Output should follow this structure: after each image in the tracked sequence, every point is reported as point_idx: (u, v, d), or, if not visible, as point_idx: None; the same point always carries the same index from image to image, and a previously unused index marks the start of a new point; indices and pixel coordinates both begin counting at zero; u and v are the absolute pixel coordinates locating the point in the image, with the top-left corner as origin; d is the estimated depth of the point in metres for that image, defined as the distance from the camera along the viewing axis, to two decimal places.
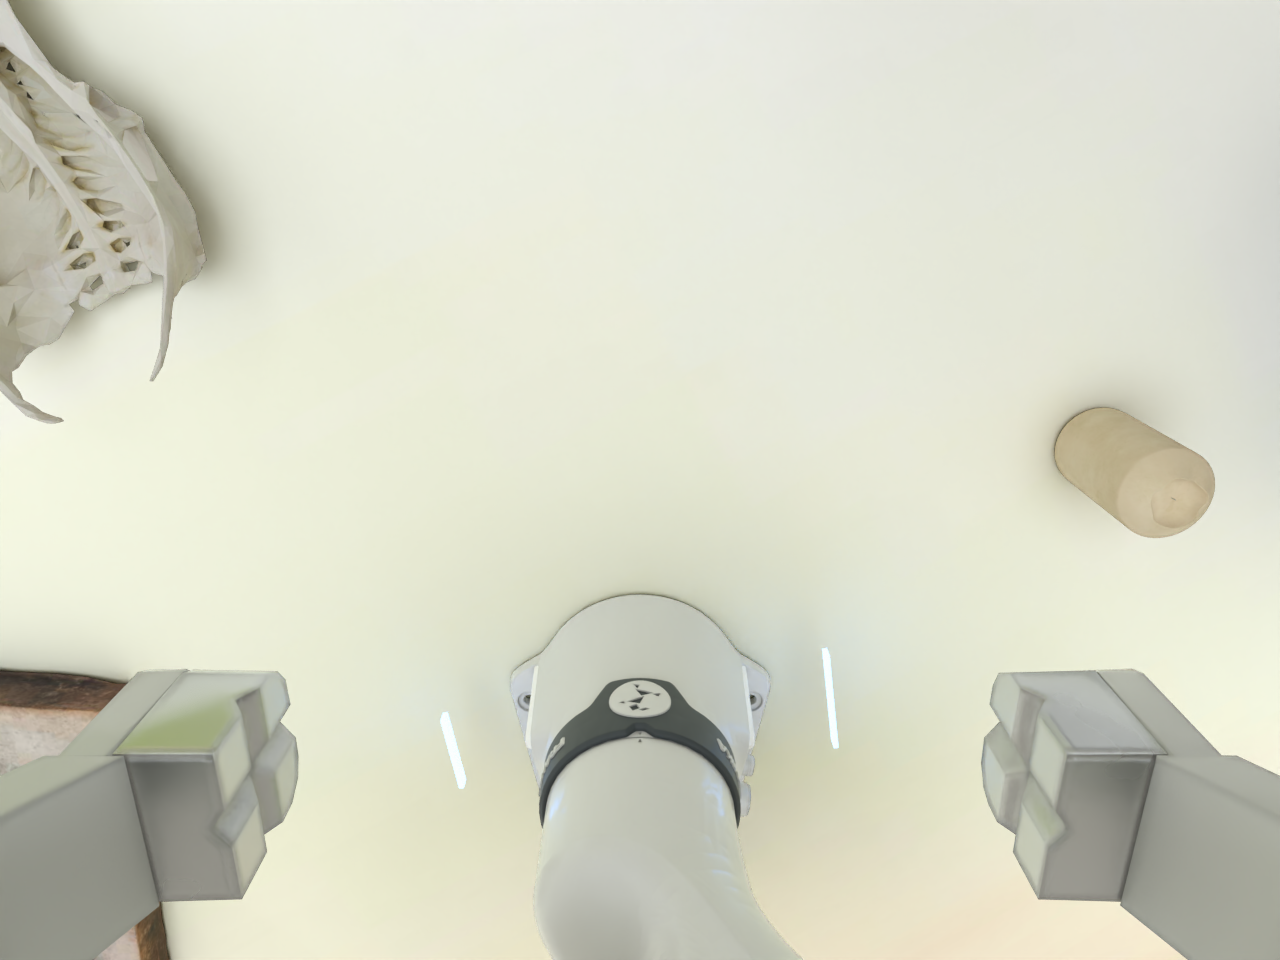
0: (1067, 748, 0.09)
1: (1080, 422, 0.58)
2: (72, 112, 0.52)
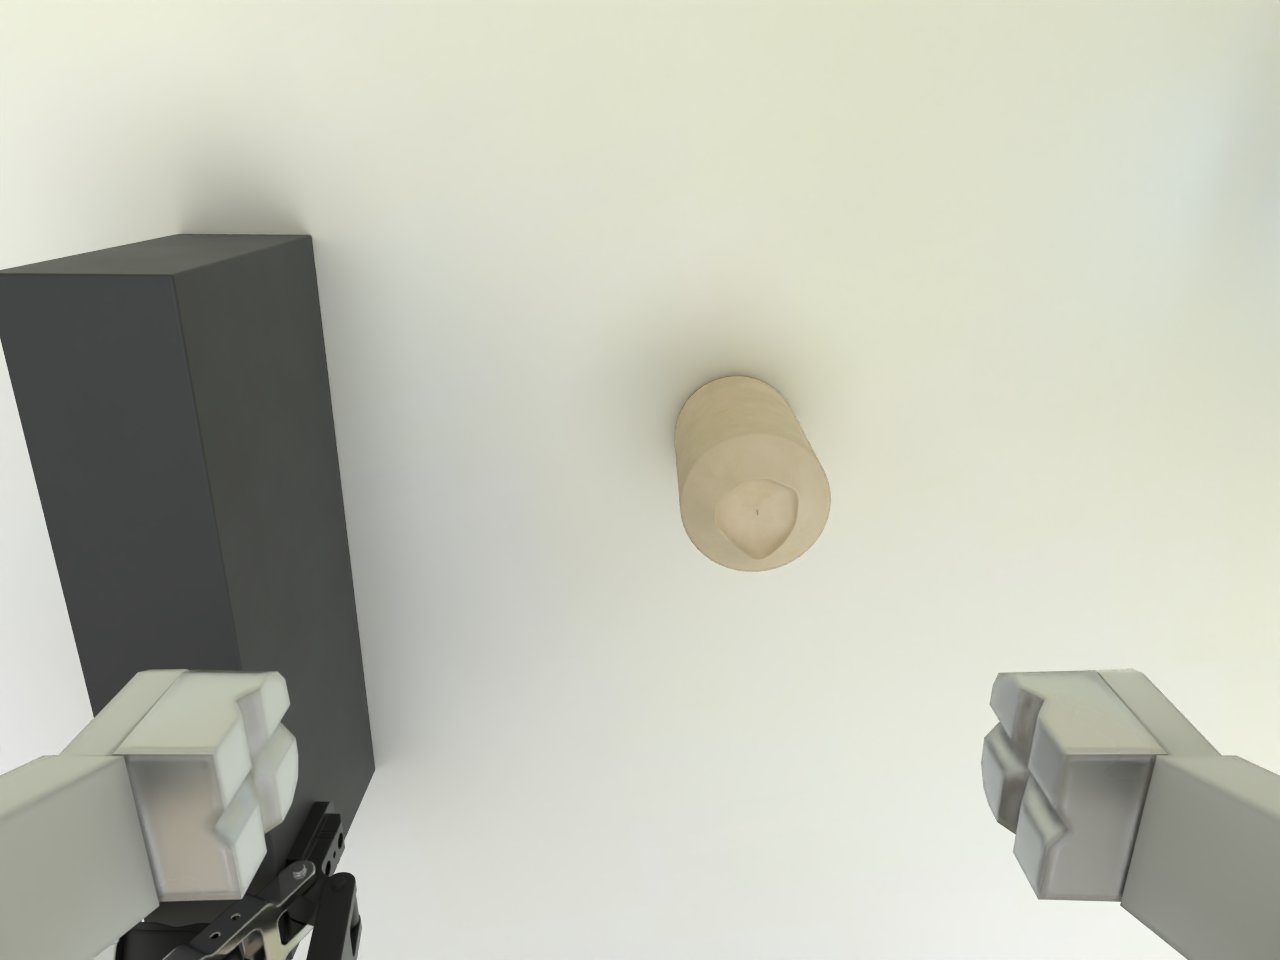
0: (1067, 748, 0.09)
1: None
2: None
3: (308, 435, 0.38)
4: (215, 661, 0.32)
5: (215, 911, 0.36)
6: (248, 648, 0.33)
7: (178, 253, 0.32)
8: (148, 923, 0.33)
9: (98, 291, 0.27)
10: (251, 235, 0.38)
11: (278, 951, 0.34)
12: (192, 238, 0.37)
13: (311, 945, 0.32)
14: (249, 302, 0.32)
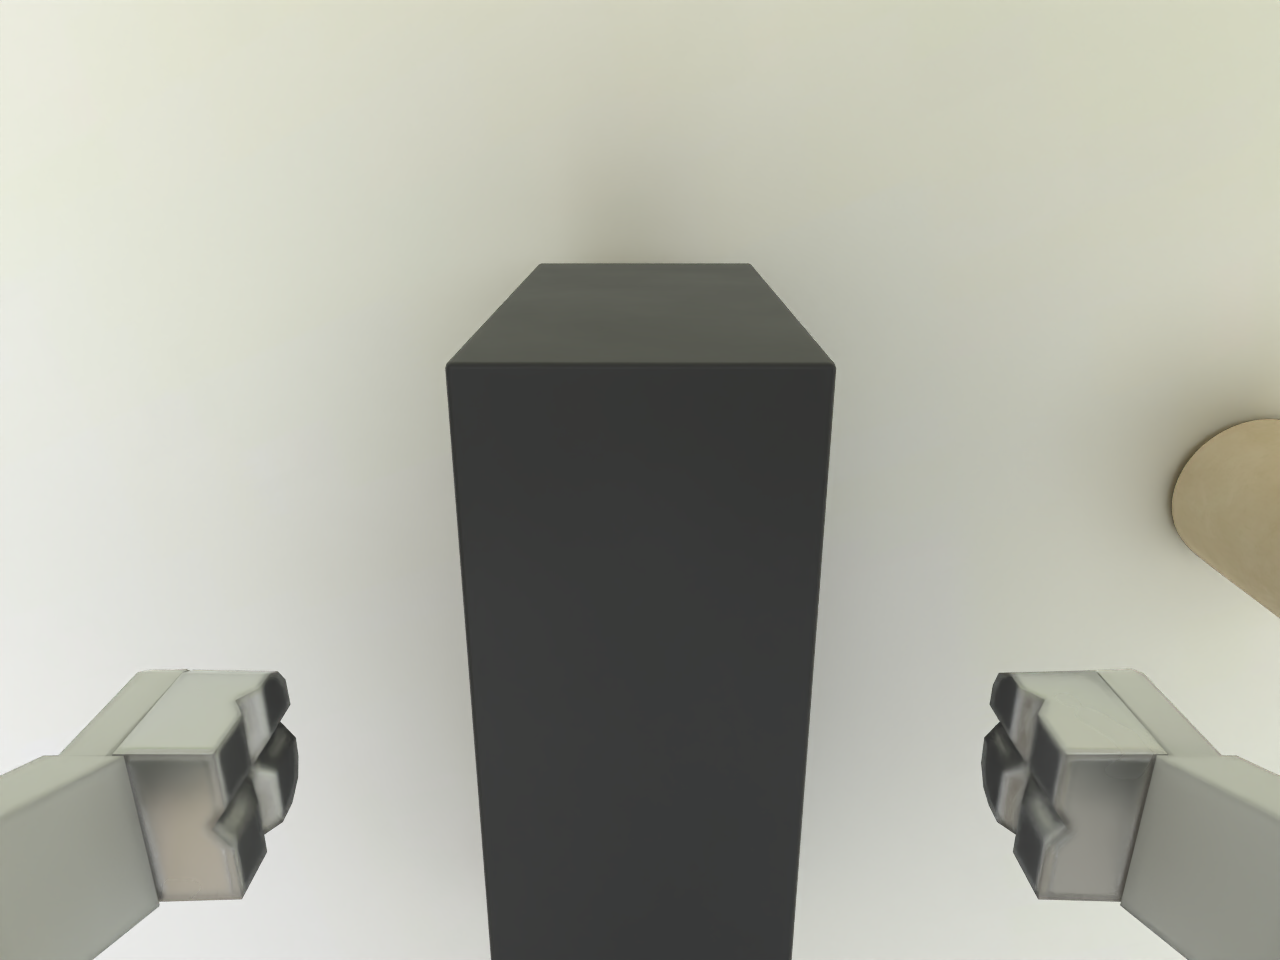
0: (1067, 748, 0.09)
1: None
2: None
3: None
4: None
5: None
6: None
7: (667, 304, 0.18)
8: None
9: (677, 397, 0.13)
10: (662, 265, 0.24)
11: None
12: (590, 271, 0.23)
13: None
14: None
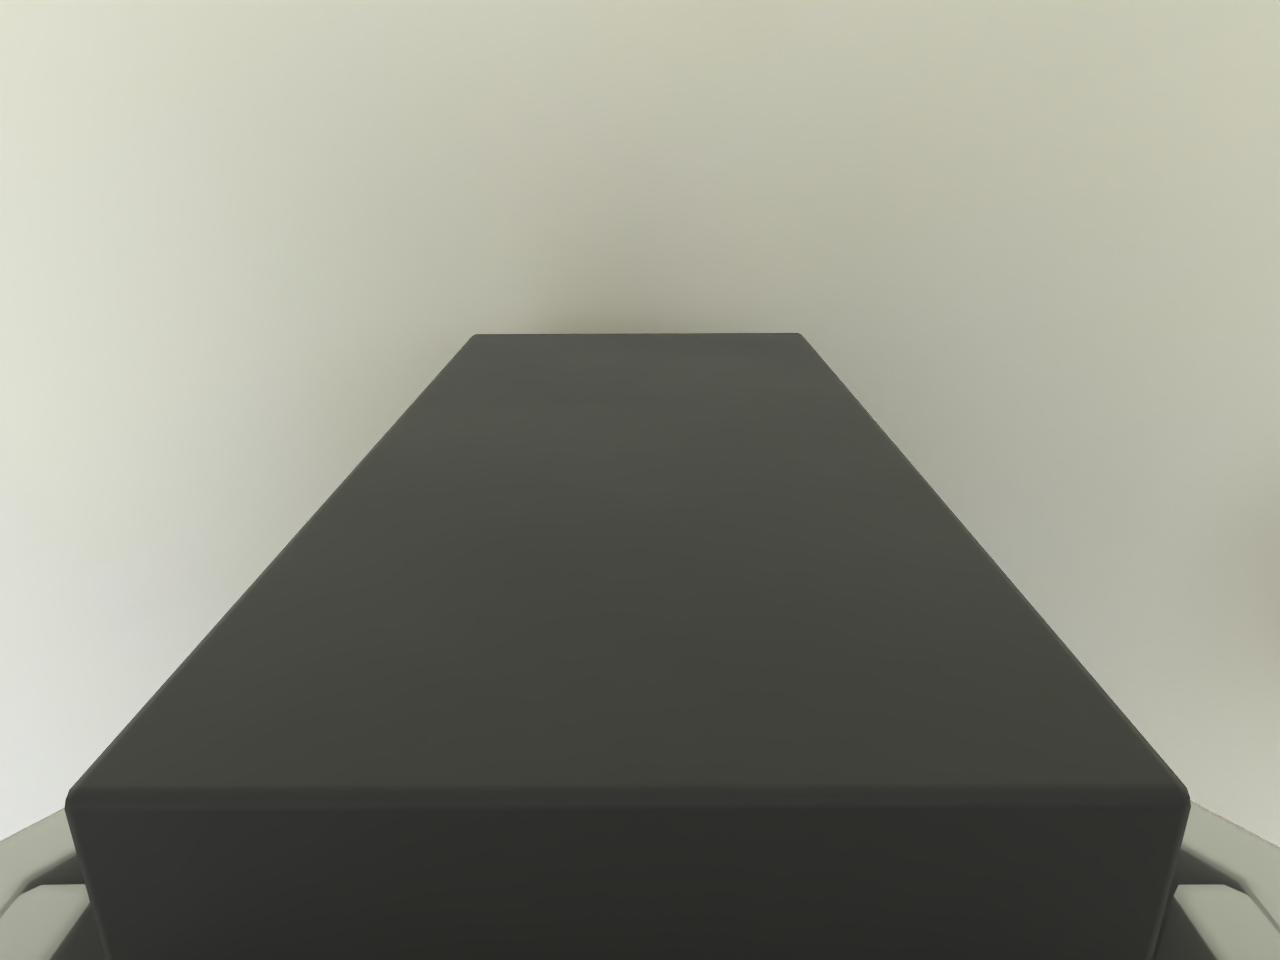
0: None
1: None
2: None
3: None
4: None
5: None
6: None
7: (681, 458, 0.09)
8: None
9: (732, 878, 0.05)
10: (664, 337, 0.15)
11: None
12: (549, 355, 0.14)
13: None
14: None
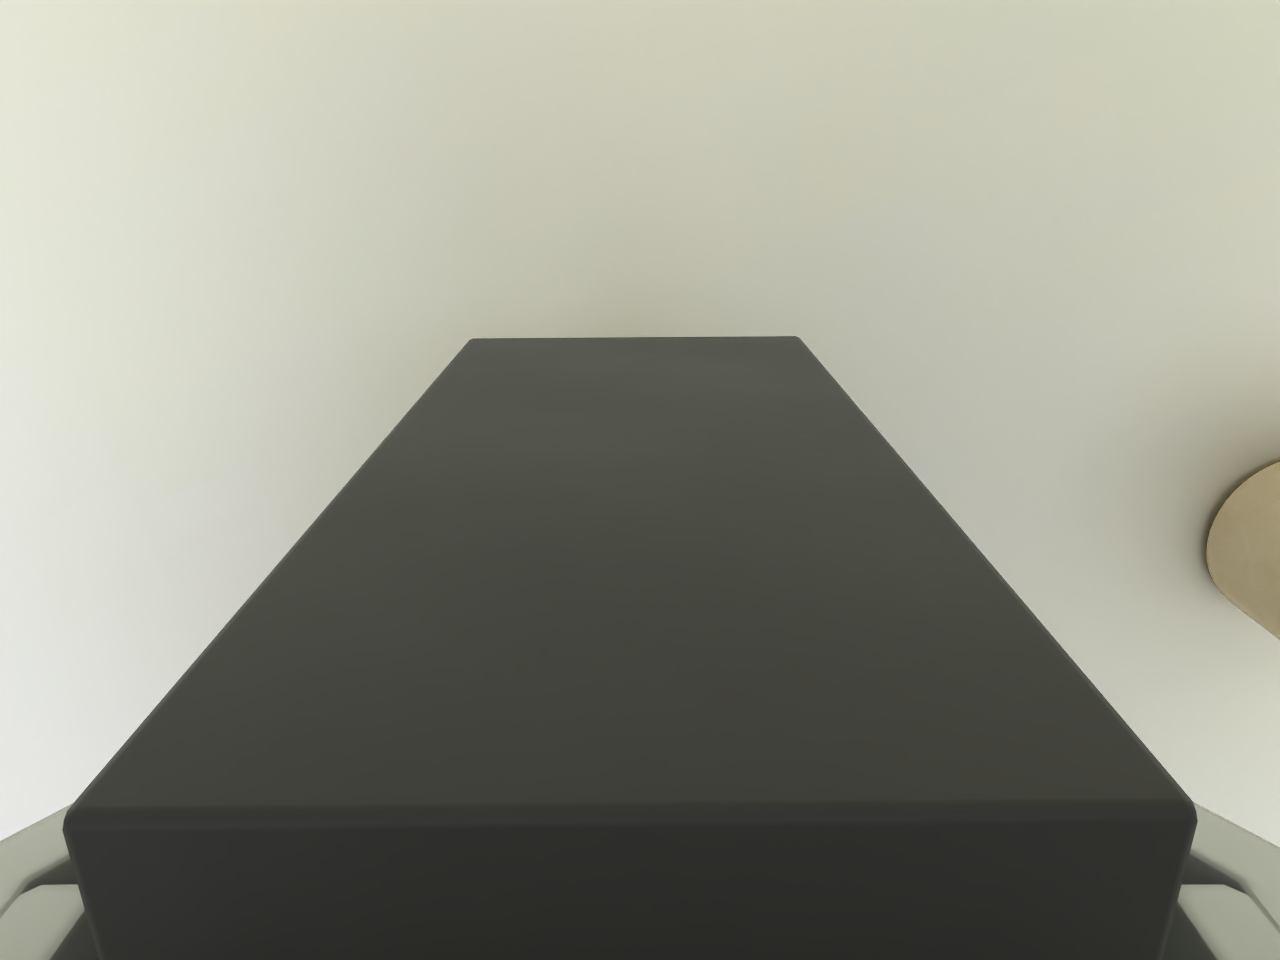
0: None
1: None
2: None
3: None
4: None
5: None
6: None
7: (681, 465, 0.09)
8: None
9: (737, 896, 0.05)
10: (662, 341, 0.15)
11: None
12: (547, 360, 0.14)
13: None
14: None
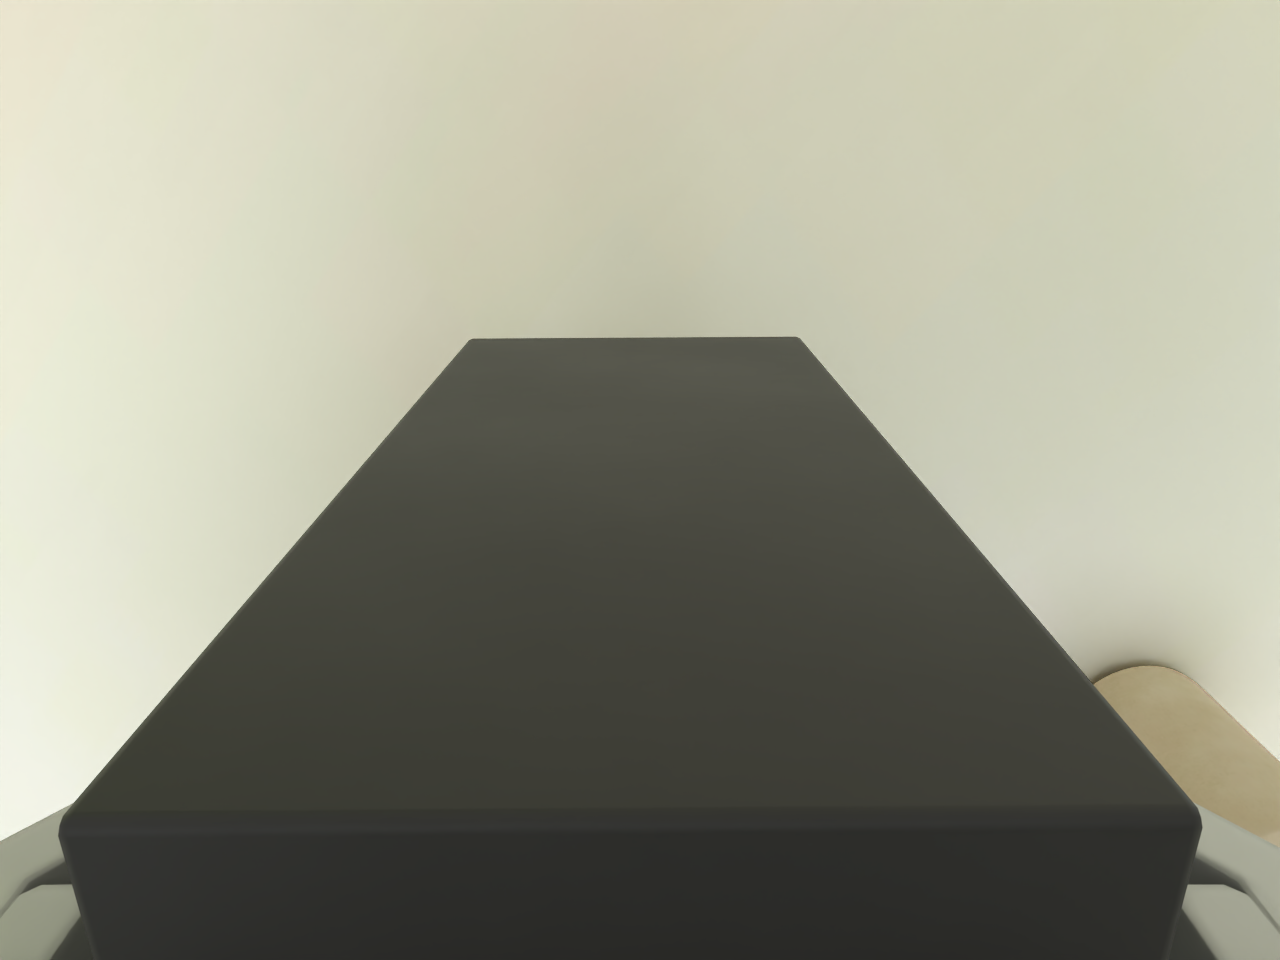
0: None
1: None
2: None
3: None
4: None
5: None
6: None
7: (681, 466, 0.09)
8: None
9: (737, 900, 0.05)
10: (662, 341, 0.15)
11: None
12: (546, 360, 0.14)
13: None
14: None
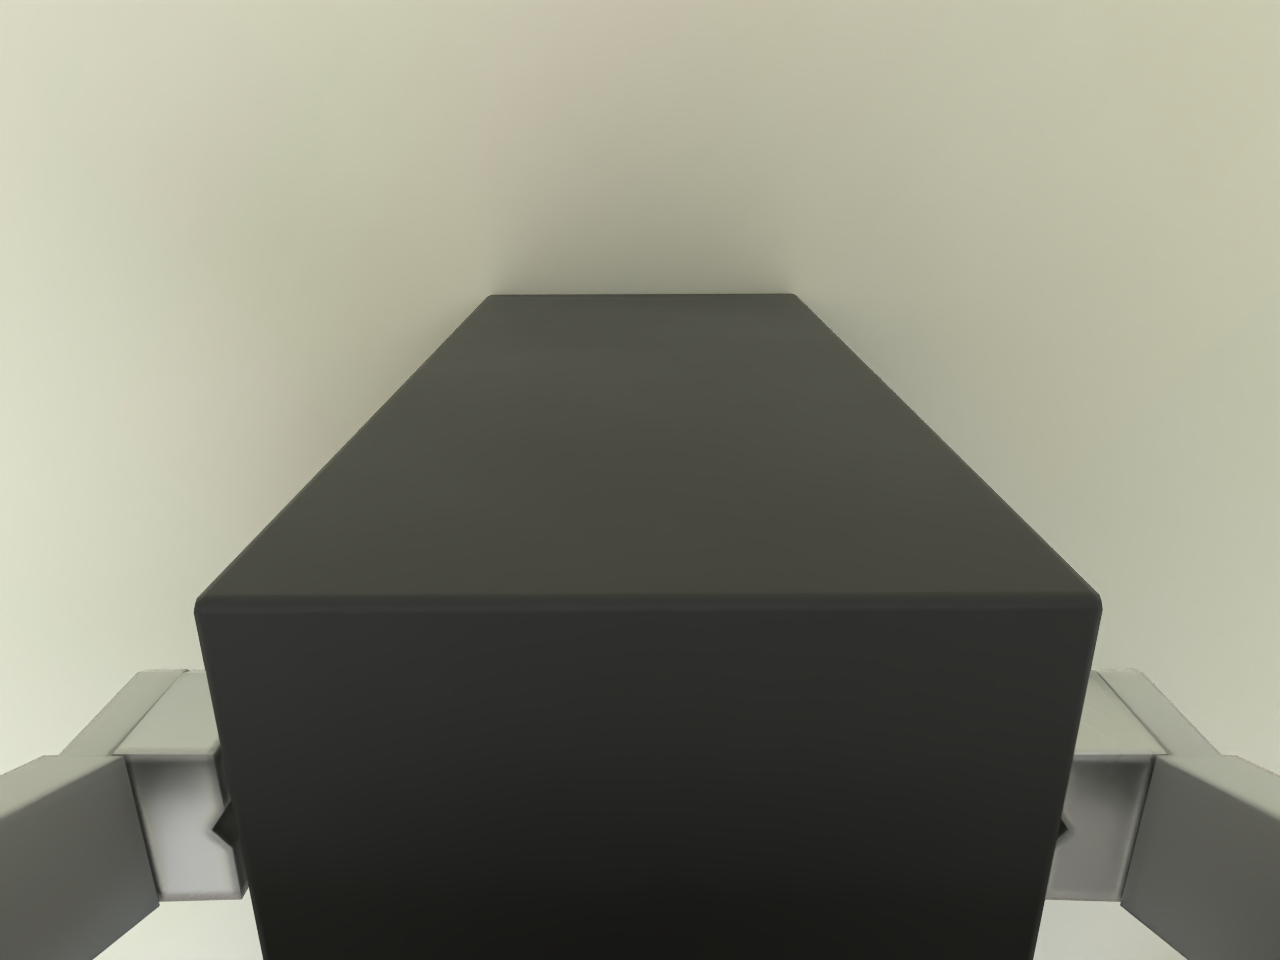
0: None
1: None
2: None
3: None
4: None
5: None
6: None
7: (686, 386, 0.10)
8: None
9: (733, 670, 0.06)
10: (668, 297, 0.16)
11: None
12: (561, 311, 0.15)
13: None
14: None
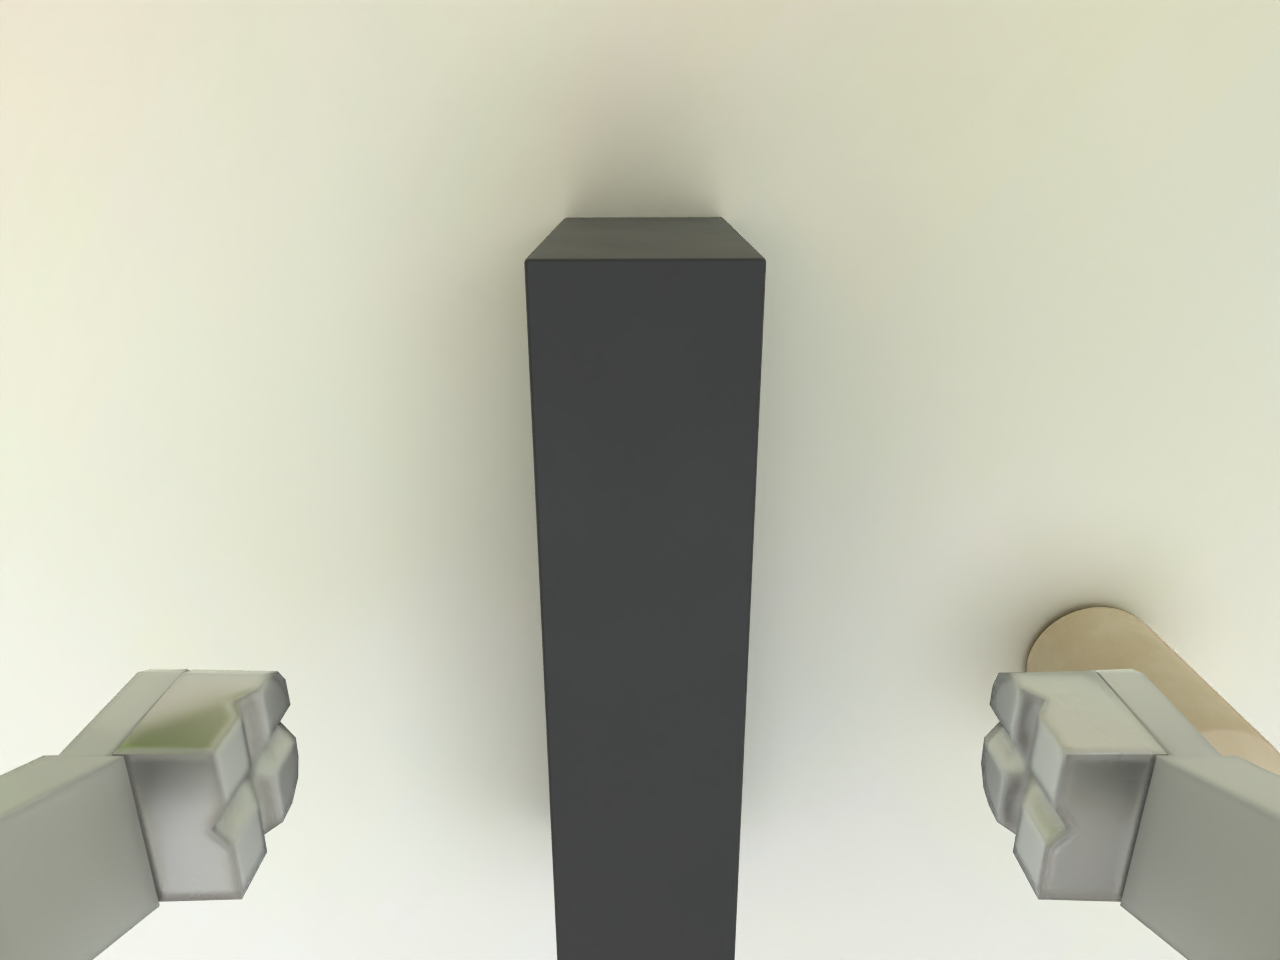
0: (1067, 748, 0.09)
1: None
2: None
3: None
4: (714, 735, 0.26)
5: None
6: None
7: (661, 236, 0.26)
8: None
9: (668, 280, 0.22)
10: (657, 218, 0.32)
11: None
12: (604, 221, 0.31)
13: None
14: None
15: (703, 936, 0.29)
